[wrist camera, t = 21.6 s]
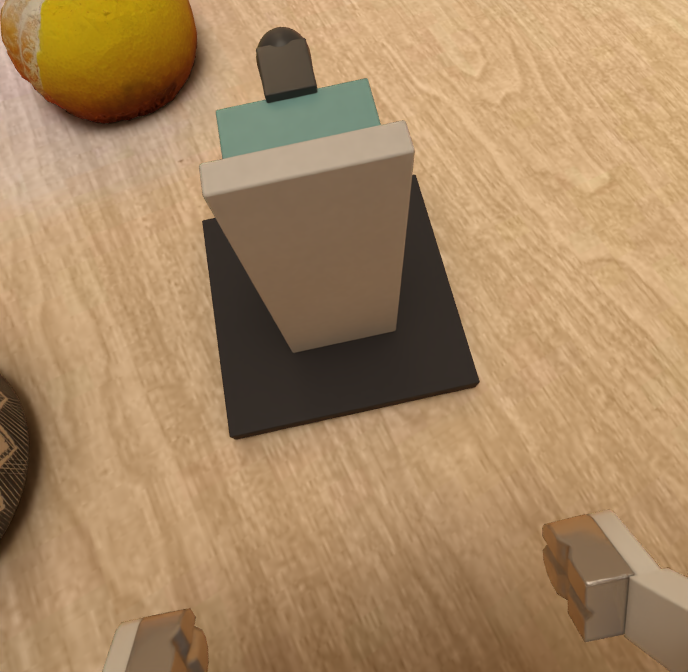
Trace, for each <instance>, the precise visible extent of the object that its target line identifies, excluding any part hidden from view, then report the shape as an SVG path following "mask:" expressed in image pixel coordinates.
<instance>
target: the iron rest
mask: <svg viewBox="0 0 688 672" xmlns="http://www.w3.org/2000/svg"><path fill="white" fill-rule="evenodd" d="M202 223H203V231H204V239H205V246H206V254H207V262H208V270H209V278H210V286H211V293H212V301H213V309H214V317H215V325H216V333H217V340H218V348H219V356H220V364H221V372H222V380H223V388H224V395H225V403H226V411H227V419H228V427H229V435H230V437H231V438H234V439H240V438H245V437H250V436H254V435H259V434H263V433H268V432H272V431H277V430H281V429H286V428H291V427H295V426H300V425H304V424H309V423H313V422H318V421H322V420H327V419H332V418H336V417H341V416H345V415H350V414H354V413H359V412H363V411H368V410H373V409H377V408H382V407H386V406H391V405H395V404H400V403H404V402H409V401H414V400H418V399H423V398H427V397H432V396H436V395H441V394H445V393H450V392H455V391H459V390H464V389H468V388H473V387H476V386H477V384H478V383H479V378H478V375H477V372H476V369H475V365H474V362H473V359H472V356H471V352H470V349H469V346H468V343H467V339H466V336H465V333H464V330H463V326H462V323H461V320H460V317H459V314H458V310H457V307H456V304H455V301H454V297H453V294H452V291H451V288H450V284H449V281H448V278H447V275H446V272H445V268H444V265H443V262H442V259H441V255H440V252H439V249H438V246H437V242H436V239H435V236H434V233H433V229H432V226H431V223H430V220H429V217H428V213H427V210H426V207H425V204H424V200H423V197H422V194H421V191H420V187H419V184H418V181H417V178H416V175H412V182H411V191H410V201H409V210H408V220H407V229H406V239H405V248H404V258H403V267H402V276H401V286H400V295H399V305H398V314H397V324H396V330H395V331H393V332H388V333H383V334H379V335H374V336H369V337H365V338H360V339H356V340H351V341H346V342H342V343H337V344H332V345H328V346H323V347H318V348H314V349H309V350H304V351H300V352H295V353H293V352H292V351H291V349H290V347H289V345H288V344H287V342H286V340H285V338H284V337H283V335H282V333H281V331H280V330H279V328H278V326H277V324H276V323H275V321H274V319H273V317H272V316H271V314H270V312H269V310H268V309H267V307H266V305H265V303H264V302H263V300H262V298H261V296H260V295H259V293H258V291H257V290H256V288H255V286H254V284H253V283H252V281H251V279H250V277H249V276H248V274H247V272H246V270H245V269H244V267H243V265H242V263H241V262H240V260H239V258H238V256H237V255H236V253H235V251H234V249H233V248H232V246H231V244H230V242H229V241H228V239H227V237H226V236H225V234H224V232H223V230H222V229H221V227H220V225H219V223H218V222H217V220H216V218H212V219H208V220H203V221H202Z"/></svg>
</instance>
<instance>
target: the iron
mask: <svg viewBox="0 0 688 672" xmlns="http://www.w3.org/2000/svg"><path fill="white" fill-rule="evenodd" d="M256 60H257V66H258V69H259V73H260V77H261V80H262V84H263V89H264V95H265V99H266V100H262V101H257V102H253V103H248V104H243V105H239V106H234V107H229V108H224V109H220V110H217V111H216V118H217V124H218V131H219V138H220V145H221V152H222V159H220V160H215V161H210V162H206V163H201V164H200V165H199V171H200V179H201V187H202V195H203V197H204V199H205V201H206V202H207V204H208V206H209V208H210V209H211V211H212V213H213V215H214V216H215V218H216V220H217V222H218V223H219V225H220V227H221V229H222V230H223V232H224V234H225V236H226V237H227V239H228V241H229V242H230V244H231V246H232V248H233V249H234V251H235V253H236V255H237V256H238V258H239V260H240V262H241V263H242V265H243V267H244V269H245V270H246V272H247V274H248V276H249V277H250V279H251V281H252V283H253V284H254V286H255V288H256V290H257V291H258V293H259V295H260V296H261V298H262V300H263V302H264V303H265V305H266V307H267V309H268V310H269V312H270V314H271V316H272V317H273V319H274V321H275V323H276V324H277V326H278V328H279V330H280V331H281V333H282V335H283V337H284V338H285V340H286V342H287V344H288V345H289V347H290V349H291V351H292V352H293V353H295V352H300V351H304V350H309V349H314V348H318V347H323V346H328V345H332V344H337V343H342V342H346V341H351V340H356V339H360V338H365V337H369V336H374V335H379V334H383V333H388V332H393V331H395V330H396V324H397V314H398V305H399V295H400V286H401V276H402V267H403V258H404V248H405V239H406V229H407V220H408V210H409V201H410V191H411V182H412V172H413V163H414V153H415V149H414V146H413V143H412V140H411V136H410V133H409V130H408V127H407V123H406V122H405V121H403V120H402V121H397V122H393V123H388V124H383V125H381V123H380V120H379V116H378V113H377V109H376V106H375V102H374V99H373V95H372V92H371V88H370V85H369V81H368V79H367V78H365V79H360V80H356V81H351V82H346V83H342V84H337V85H332V86H328V87H323V88H318V89H317V84H316V80H315V76H314V72H313V67H312V60H311V53H310V50H309V47H308V45H307V43H306V39H305V38H303V37H302V36H301V35H300V34H299V33H298V32H296V31H295V30H293V29H290V28H287V27H277V28H274V29H272V30H270V31H268V32H267V33H266V34H265V35H264V36H263V37H262V39H261V40H260V42H259V44H258V47H257V48H256Z"/></svg>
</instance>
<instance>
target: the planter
mask: <svg viewBox="0 0 688 672" xmlns="http://www.w3.org/2000/svg"><path fill="white" fill-rule="evenodd" d="M28 462H29V435H28V427H27V422H26V418H25V415H24V411H23V408H22V406H21V403H20V401H19V399H18V397H17V395H16V393H15V392H14V390H13V389H12V387H11V386H10V384H9V383H8V382H7V381H6V379H5V378H4V377H3V376H2V375H1V374H0V539H1V538H2V536H3V535H4V533H5V531H6V529H7V528H8V526H9V524H10V522H11V520H12V518H13V516H14V514H15V511H16V509H17V506H18V504H19V501H20V498H21V495H22V492H23V488H24V484H25V481H26V475H27V470H28Z"/></svg>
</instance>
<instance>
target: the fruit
mask: <svg viewBox="0 0 688 672" xmlns="http://www.w3.org/2000/svg"><path fill="white" fill-rule="evenodd" d="M0 22H1V36H2V41H3V43H4V45H5V47H6V49H7V53H8V55H9V57H10V59H11V61H12V62H13V64H14V66H15V68H16V69H17V71H18V72H19V73H20V75H21V76H22V78H24V79H25V80H27V81H29V82H30V83H31V84H32V85H33V87H34V89H35V90H37V91H38V92H39V93H40V94H41V95H42V96H43V97H44V98H45V99H46V100H47V101H48V102H51V103H55V104H56V105H58V106H59V107H61V108H63V109H66V112H69V114H73V115H74V116H76V117H79V118H82V119H86V120H89V121H93V122H96V123H103V124H107V123H113V122H117V121H120V120H131V119H133V118H135V117H138V116H145V115H147V114H149V113H153V112H155V111H156V110H158V109H159V108H161V107H163V106H164V105H166V104H167V103H169V102H170V101H172V100H173V99H174V98H175V96H176V94H178V92H179V90H180V89H181V88H182V87H183V85H184V84H185V83H186V81H187V79H188V77H189V75H190V73H191V69H192V67H193V64H194V59H195V57H196V48H197V32H196V26H195V22H194V17H193V13H192V10H191V6H190V3H189V1H188V0H5V3H4V5H3V7H2V9H1V15H0Z"/></svg>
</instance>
